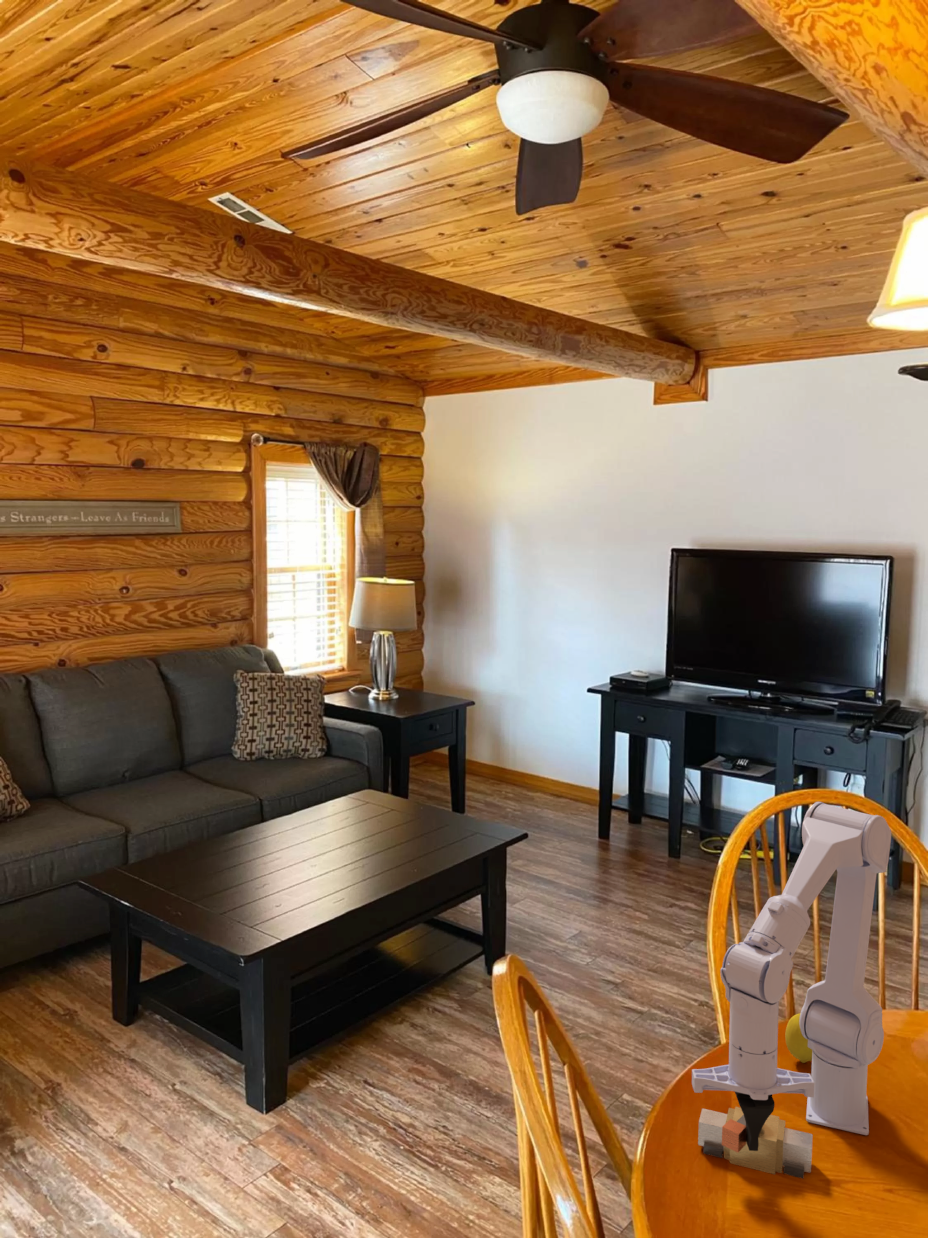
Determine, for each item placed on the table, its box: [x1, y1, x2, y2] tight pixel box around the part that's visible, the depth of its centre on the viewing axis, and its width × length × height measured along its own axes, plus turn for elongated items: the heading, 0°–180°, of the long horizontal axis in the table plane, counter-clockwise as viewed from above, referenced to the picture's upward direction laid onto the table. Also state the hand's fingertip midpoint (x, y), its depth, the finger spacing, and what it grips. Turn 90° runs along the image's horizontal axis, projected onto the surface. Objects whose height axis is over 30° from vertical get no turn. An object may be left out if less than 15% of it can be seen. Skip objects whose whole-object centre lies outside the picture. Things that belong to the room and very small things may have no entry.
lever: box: [722, 1115, 747, 1152], centre depth 119 cm, size 8×2×2 cm, turn 138°
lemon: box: [784, 1012, 812, 1064], centre depth 143 cm, size 6×6×8 cm
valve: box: [697, 1106, 814, 1179], centre depth 121 cm, size 6×14×5 cm, turn 68°
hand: (750, 1146), depth 116 cm, fingers closed, pressing on lever
